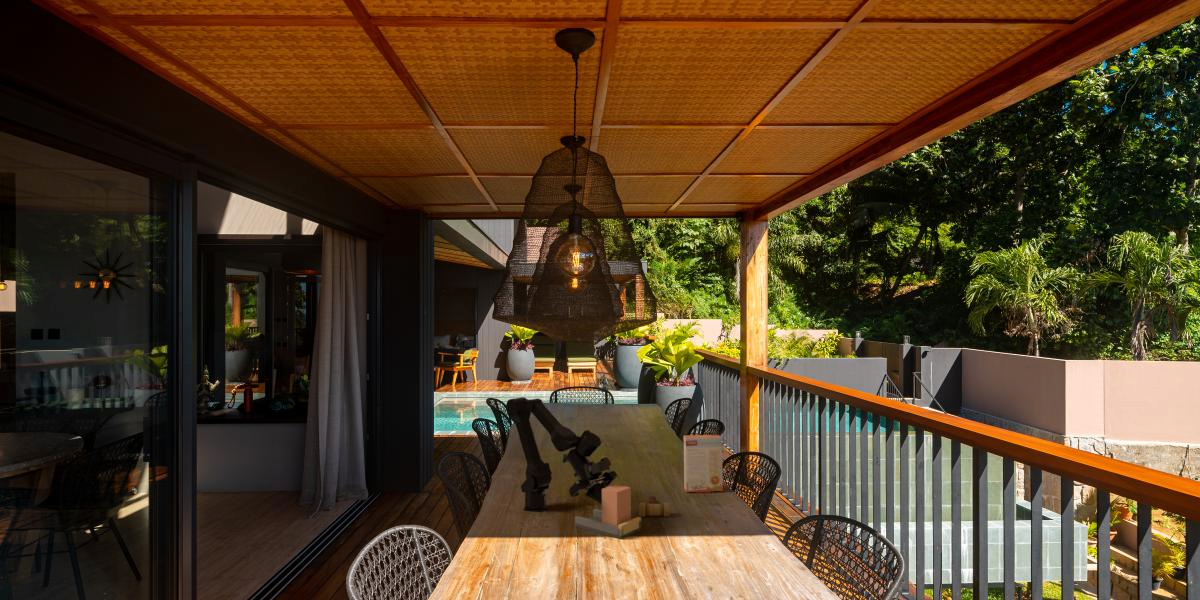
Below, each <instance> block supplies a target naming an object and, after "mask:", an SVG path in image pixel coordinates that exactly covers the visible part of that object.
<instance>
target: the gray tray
mask: <svg viewBox="0 0 1200 600" xmlns="http://www.w3.org/2000/svg"><path fill="white" fill-rule="evenodd" d="M574 527H576V528H580V529H582V530H583V529H584V530H587V531H590V532H594V533H597V534H601V535H604V536H605V535H606V536H608V537H612V538H616V539H618V540H619V539H620V540H623V539H625V538H627V537H629V536H632V535H634V534H636V533H638V532H640V531H642V517H640V516H636V517H634V518H632V517H631V520H629V521H627V522H624V523H622V524H620V525H618V527H617V526H613V525H610V524H606V523H602V509H601V510H600V509H596V508H595V509H593V510H592V516H590V517H588V518H586V517H583V516H579V515H576V516H574Z"/></svg>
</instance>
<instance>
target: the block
mask: <svg viewBox="0 0 1200 600" xmlns="http://www.w3.org/2000/svg"><path fill="white" fill-rule="evenodd" d="M631 491H632V488H631V486H630V487H629V486H625V485H620V484H612V485H608V486H607V487H606V488H603V489H602V504H601V511H602V523H606V524H610V525H613V526H617V527H618V525H620V524H622V523H624V522H627V521H629V520H631V518H632V516H631V515H632V513H631V511H632V508H631V506H632V503H631V502H632V501H631V500H632V499H631V498H632V497H631V496H632V495H631V494H632V492H631Z"/></svg>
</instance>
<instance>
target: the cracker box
mask: <svg viewBox="0 0 1200 600" xmlns="http://www.w3.org/2000/svg"><path fill="white" fill-rule="evenodd" d="M683 484H684V486H683V487H684V488H683V490H684V491H685V493H687V492H696V493H714V492H713V491H724V490H723V487H724V486H723V437H722V436H721V435H720V434H691V435H690V434H688V435H687V434H685V435H683ZM711 491H712V492H711Z"/></svg>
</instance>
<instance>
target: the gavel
mask: <svg viewBox="0 0 1200 600" xmlns="http://www.w3.org/2000/svg"><path fill="white" fill-rule="evenodd" d="M638 509H639V510H638V511H639V514H638V515H639V516H638V517H641V518H642V517H643V518H644V517H646V516H647V517H661V516H662V517H664V518H670V515H671V509H670V503H669V502H663V503H662V504H661V503H657V498H656V497H655V495H651V496H649V498H648V503H646V502H639V505H638Z"/></svg>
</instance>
